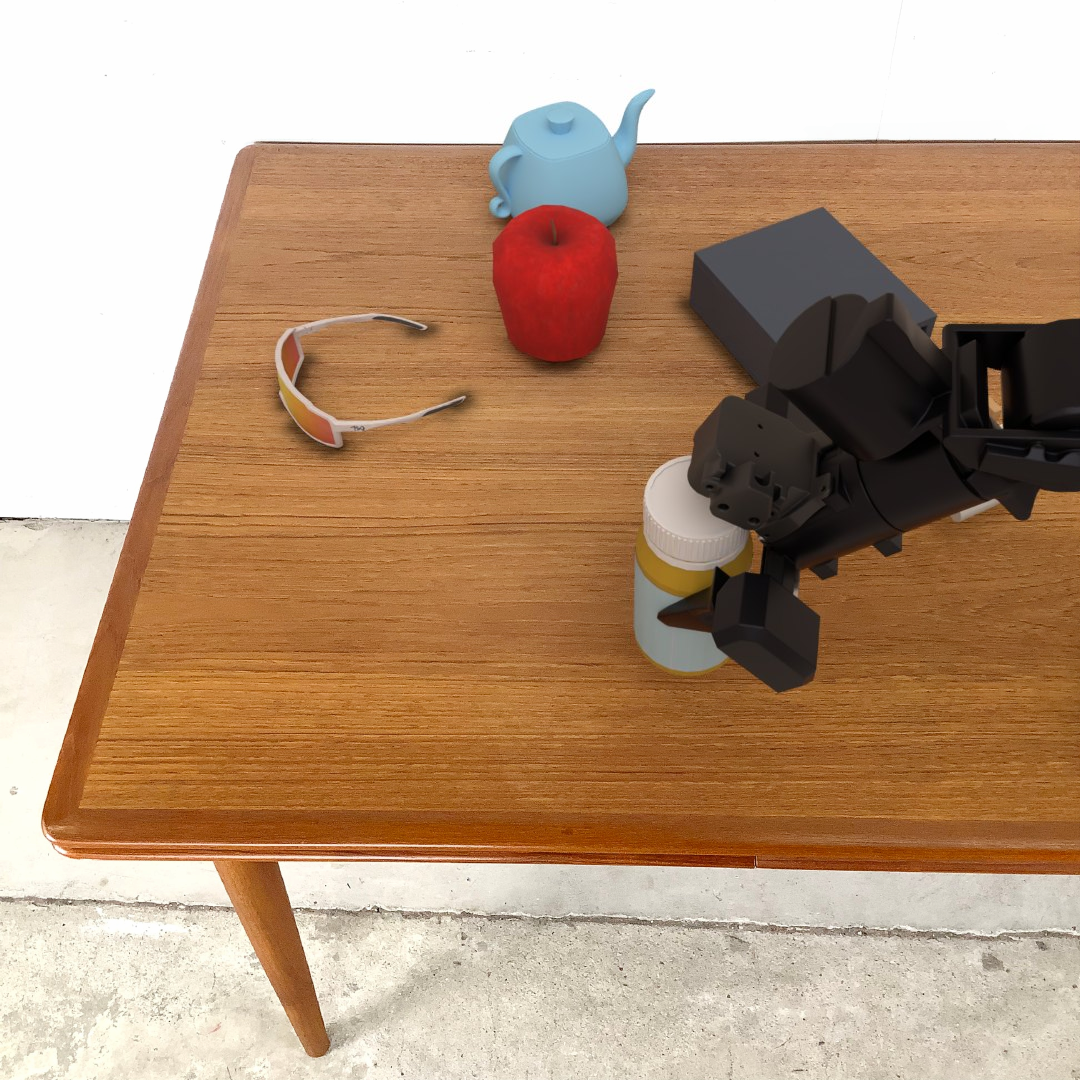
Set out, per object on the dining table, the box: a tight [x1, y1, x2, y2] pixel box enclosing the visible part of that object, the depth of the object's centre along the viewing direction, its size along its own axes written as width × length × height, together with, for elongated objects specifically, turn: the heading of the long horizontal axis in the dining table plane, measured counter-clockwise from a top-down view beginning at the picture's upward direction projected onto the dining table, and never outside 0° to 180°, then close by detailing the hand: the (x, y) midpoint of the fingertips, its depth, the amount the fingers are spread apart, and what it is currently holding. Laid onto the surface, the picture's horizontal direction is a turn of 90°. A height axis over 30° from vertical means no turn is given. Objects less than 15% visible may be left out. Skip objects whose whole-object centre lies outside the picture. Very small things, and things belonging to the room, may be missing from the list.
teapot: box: [488, 88, 656, 228], centre depth 109 cm, size 13×11×18 cm
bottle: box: [633, 454, 754, 677], centre depth 69 cm, size 7×7×15 cm
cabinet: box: [688, 206, 938, 387], centre depth 99 cm, size 17×14×6 cm
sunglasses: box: [274, 312, 467, 449], centre depth 98 cm, size 14×15×5 cm
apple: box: [491, 205, 619, 363], centre depth 96 cm, size 11×10×14 cm
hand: (669, 572), depth 70 cm, fingers closed on bottle, 7 cm apart
